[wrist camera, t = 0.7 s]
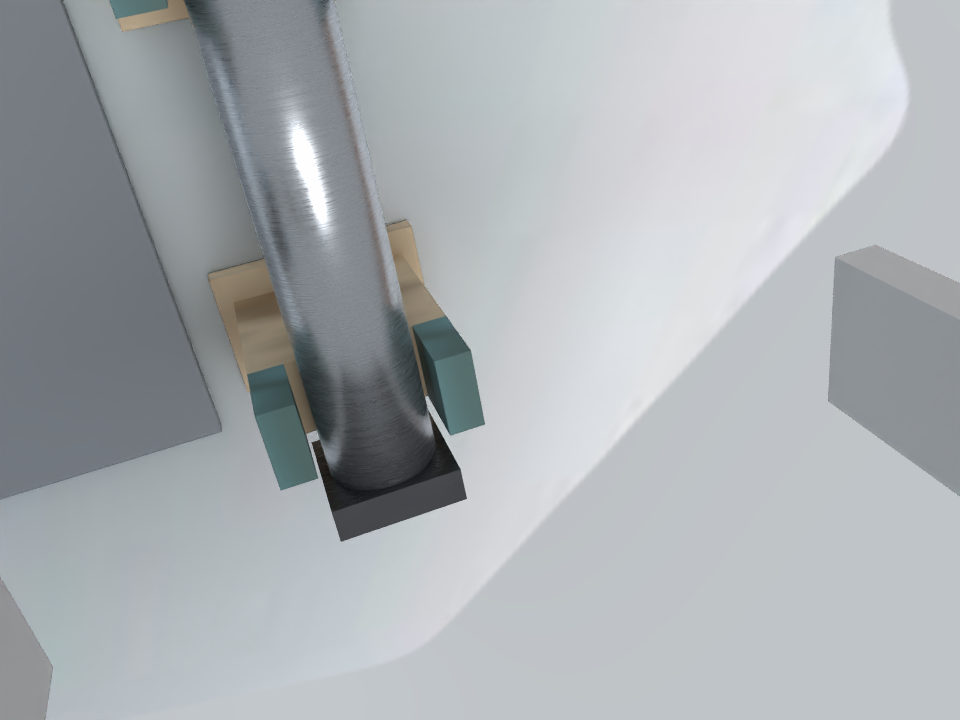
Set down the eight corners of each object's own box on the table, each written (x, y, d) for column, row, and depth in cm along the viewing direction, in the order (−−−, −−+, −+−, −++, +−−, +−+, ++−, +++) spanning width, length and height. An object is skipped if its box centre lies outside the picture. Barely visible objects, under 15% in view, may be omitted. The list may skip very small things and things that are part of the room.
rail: (432, 433, 32) (466, 498, 28) (320, 469, 31) (340, 541, 27) (279, -234, 22) (302, -265, 18) (106, -207, 21) (95, -234, 17)
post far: (246, 383, 36) (271, 523, 27) (208, 273, 33) (223, 391, 25) (430, 328, 37) (506, 445, 29) (406, 220, 35) (483, 314, 27)
